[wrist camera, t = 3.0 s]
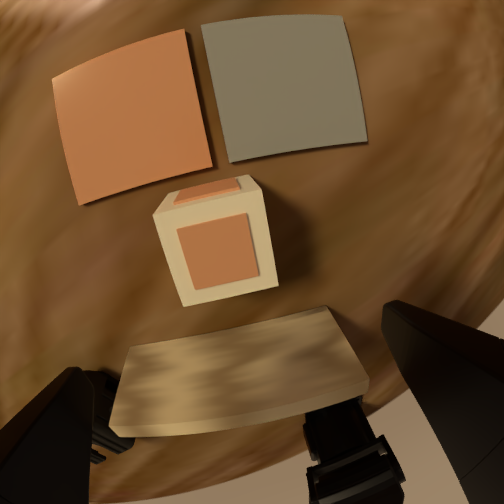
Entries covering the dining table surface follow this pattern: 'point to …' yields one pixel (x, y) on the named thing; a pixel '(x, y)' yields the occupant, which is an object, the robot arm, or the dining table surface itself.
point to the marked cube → (217, 240)
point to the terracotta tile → (131, 117)
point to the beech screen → (237, 377)
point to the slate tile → (284, 84)
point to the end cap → (105, 416)
